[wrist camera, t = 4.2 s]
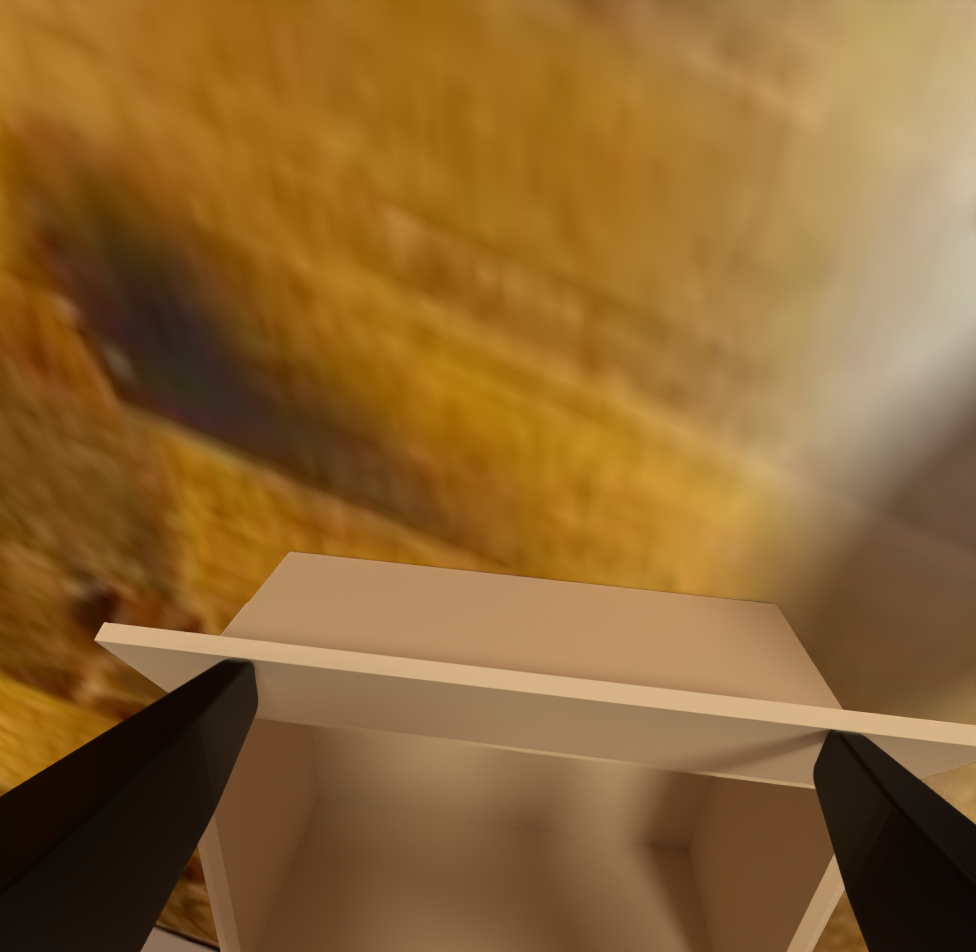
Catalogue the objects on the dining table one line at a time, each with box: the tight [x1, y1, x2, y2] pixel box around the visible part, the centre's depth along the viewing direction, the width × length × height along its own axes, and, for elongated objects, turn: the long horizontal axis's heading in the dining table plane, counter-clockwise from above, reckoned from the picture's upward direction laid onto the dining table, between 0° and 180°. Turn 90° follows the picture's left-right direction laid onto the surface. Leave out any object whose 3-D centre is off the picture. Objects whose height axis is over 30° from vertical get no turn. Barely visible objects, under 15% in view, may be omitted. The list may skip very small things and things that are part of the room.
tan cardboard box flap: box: [95, 623, 976, 785], centre depth 10 cm, size 14×4×1 cm, turn 86°
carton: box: [198, 552, 845, 952], centre depth 17 cm, size 16×12×6 cm
